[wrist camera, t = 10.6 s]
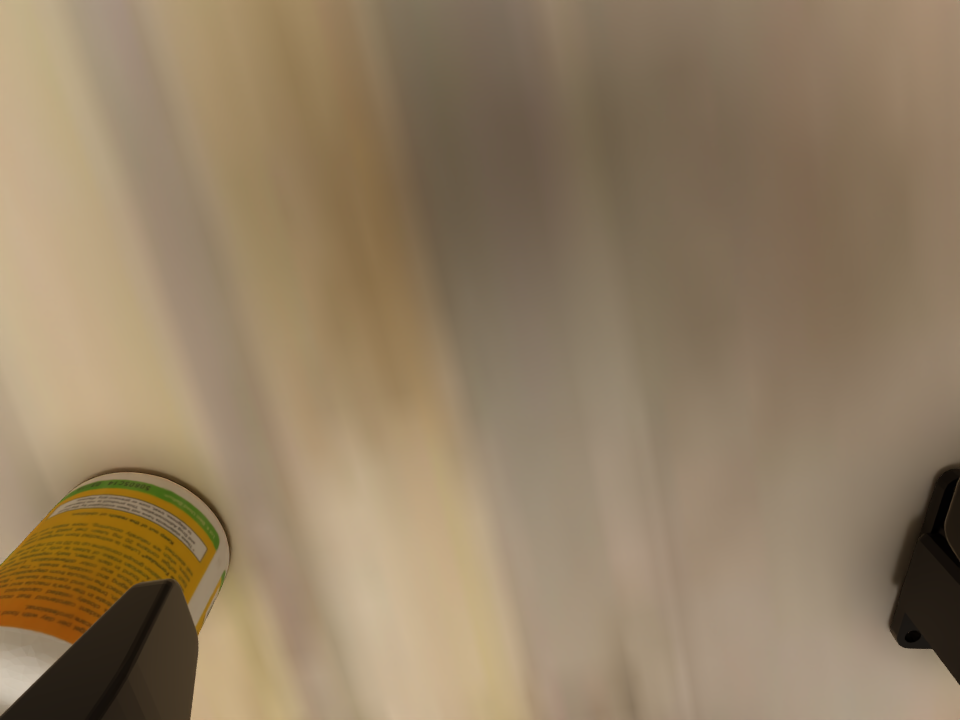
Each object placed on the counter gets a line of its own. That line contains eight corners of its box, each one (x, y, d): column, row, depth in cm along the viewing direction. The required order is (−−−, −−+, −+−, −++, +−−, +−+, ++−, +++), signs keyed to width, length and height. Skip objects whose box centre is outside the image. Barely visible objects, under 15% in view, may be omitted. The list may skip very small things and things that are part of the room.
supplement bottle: (39, 465, 21) (-284, 766, 12) (220, 466, 21) (27, 767, 12) (79, 607, 23) (-171, 951, 14) (244, 607, 23) (95, 953, 14)
